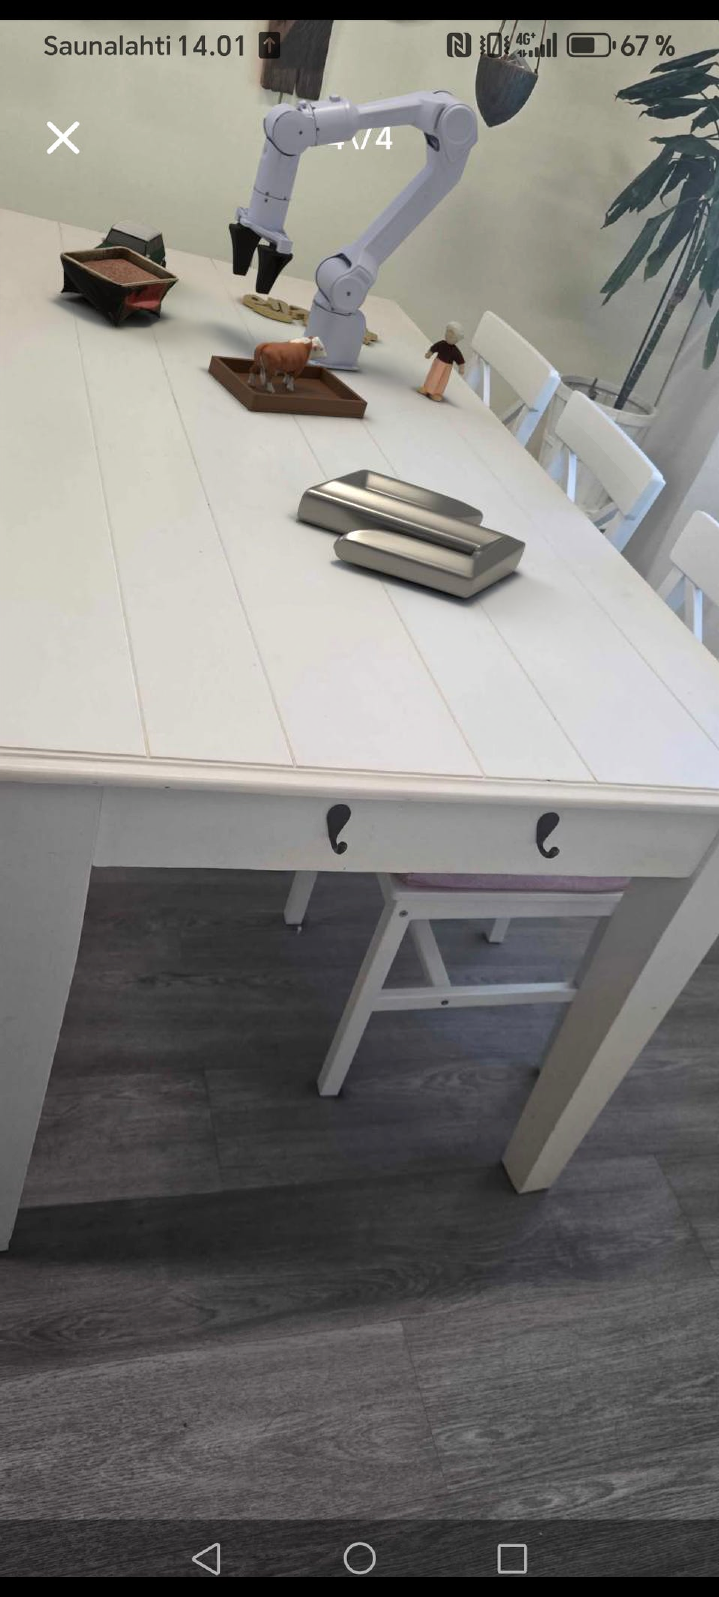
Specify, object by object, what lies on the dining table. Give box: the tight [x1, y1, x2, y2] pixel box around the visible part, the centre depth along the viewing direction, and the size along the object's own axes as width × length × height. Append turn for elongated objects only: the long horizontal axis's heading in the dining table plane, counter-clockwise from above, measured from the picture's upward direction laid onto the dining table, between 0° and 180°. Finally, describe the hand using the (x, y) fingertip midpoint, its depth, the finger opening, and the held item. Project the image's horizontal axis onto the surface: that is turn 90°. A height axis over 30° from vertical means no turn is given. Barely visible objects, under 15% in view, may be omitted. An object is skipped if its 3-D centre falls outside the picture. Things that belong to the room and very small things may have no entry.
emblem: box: [296, 469, 526, 599], centre depth 153 cm, size 28×5×28 cm
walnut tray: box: [207, 355, 369, 419], centre depth 185 cm, size 20×13×2 cm, turn 124°
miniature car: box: [93, 219, 167, 269], centre depth 206 cm, size 9×18×8 cm, turn 170°
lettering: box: [242, 293, 378, 345], centre depth 219 cm, size 25×10×1 cm, turn 100°
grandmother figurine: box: [416, 320, 466, 402], centre depth 203 cm, size 8×4×13 cm, turn 68°
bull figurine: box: [248, 336, 327, 394], centre depth 183 cm, size 4×13×8 cm, turn 133°
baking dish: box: [59, 246, 180, 327], centre depth 190 cm, size 14×18×10 cm
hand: (250, 283), depth 193 cm, fingers open, 7 cm apart
